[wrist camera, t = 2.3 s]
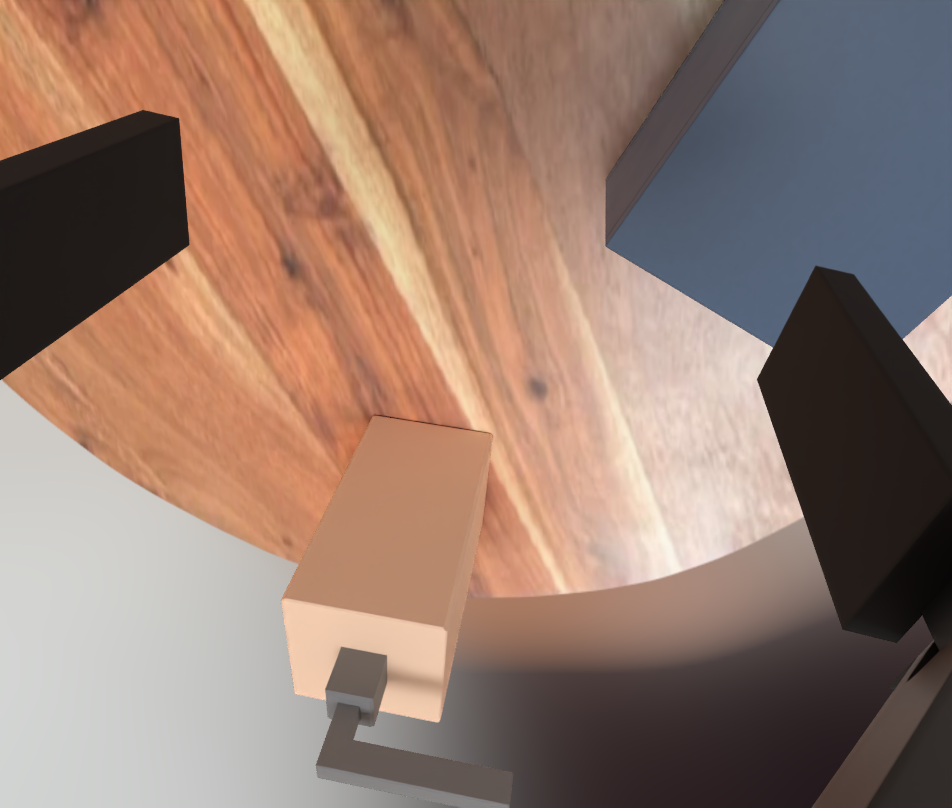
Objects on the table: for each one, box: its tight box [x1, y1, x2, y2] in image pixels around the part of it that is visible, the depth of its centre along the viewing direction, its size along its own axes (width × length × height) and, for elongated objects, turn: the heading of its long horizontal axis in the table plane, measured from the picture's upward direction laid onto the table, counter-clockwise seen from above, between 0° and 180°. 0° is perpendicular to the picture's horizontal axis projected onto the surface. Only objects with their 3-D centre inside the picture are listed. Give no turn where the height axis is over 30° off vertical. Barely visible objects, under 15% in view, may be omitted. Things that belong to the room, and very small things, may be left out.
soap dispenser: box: [281, 415, 513, 808], centre depth 40 cm, size 13×9×22 cm
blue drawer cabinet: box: [605, 0, 952, 347], centre depth 28 cm, size 15×13×10 cm
